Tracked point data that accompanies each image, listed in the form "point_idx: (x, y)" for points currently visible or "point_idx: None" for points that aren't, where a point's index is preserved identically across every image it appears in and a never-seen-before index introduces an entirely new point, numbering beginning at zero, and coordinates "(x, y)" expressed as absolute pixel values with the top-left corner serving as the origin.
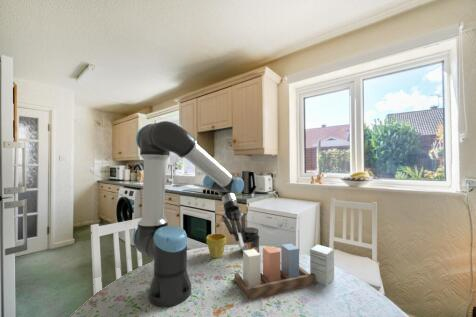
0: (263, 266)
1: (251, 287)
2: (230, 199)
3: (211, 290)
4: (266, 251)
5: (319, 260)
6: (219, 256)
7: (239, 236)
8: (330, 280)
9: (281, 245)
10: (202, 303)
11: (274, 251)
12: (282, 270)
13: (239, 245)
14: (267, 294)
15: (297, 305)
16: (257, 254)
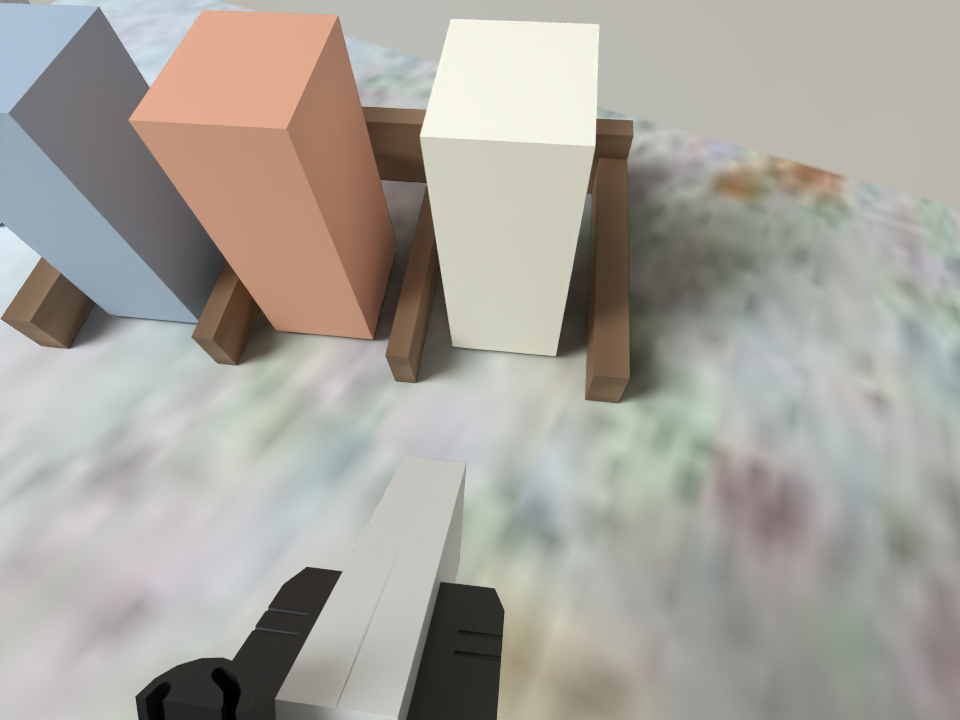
0: (355, 274)
1: (602, 125)
2: None
3: (844, 346)
4: (320, 68)
5: (4, 1)
6: None
7: (401, 599)
8: None
9: (15, 115)
10: (911, 252)
11: (255, 26)
12: (195, 292)
13: (454, 567)
14: None
15: (398, 85)
16: (478, 29)
